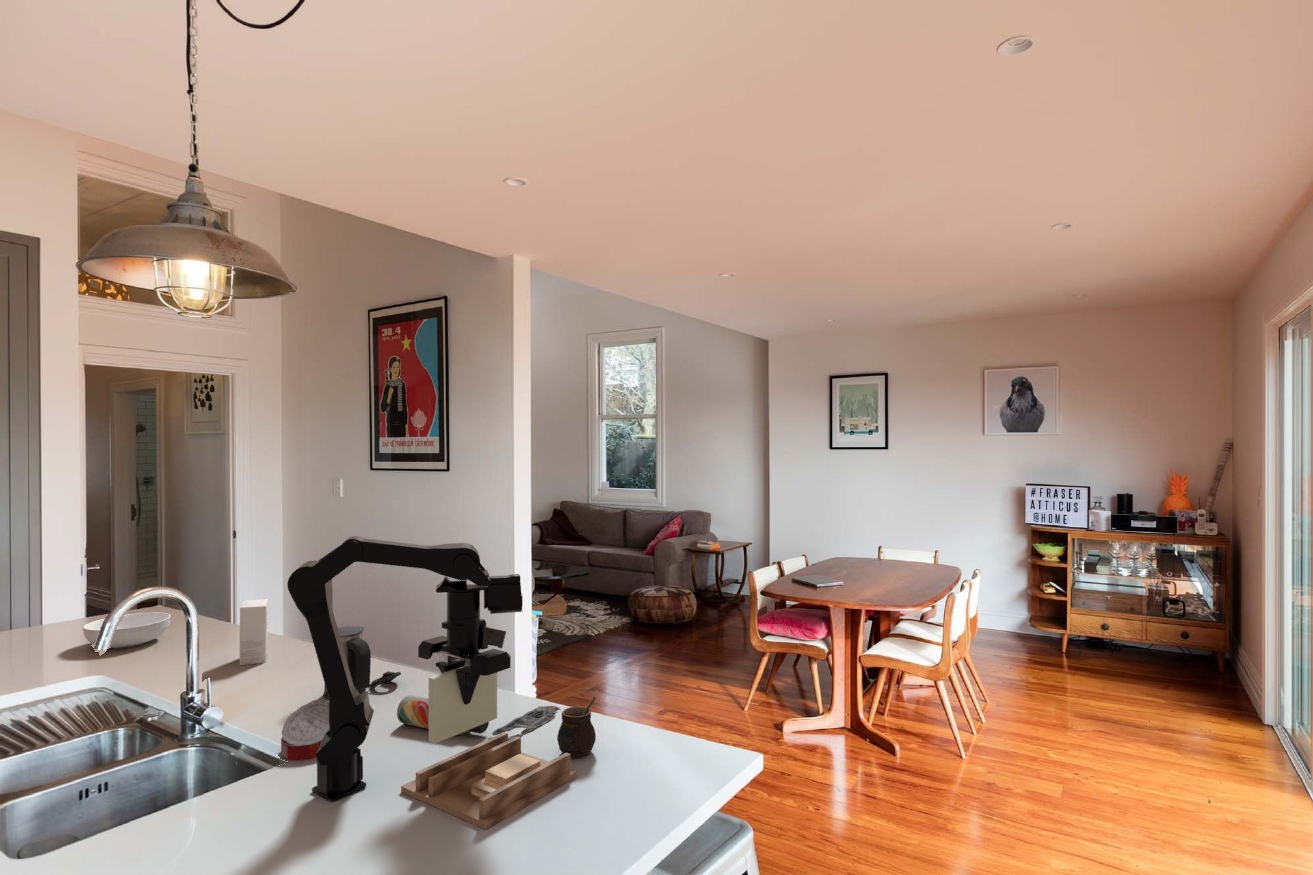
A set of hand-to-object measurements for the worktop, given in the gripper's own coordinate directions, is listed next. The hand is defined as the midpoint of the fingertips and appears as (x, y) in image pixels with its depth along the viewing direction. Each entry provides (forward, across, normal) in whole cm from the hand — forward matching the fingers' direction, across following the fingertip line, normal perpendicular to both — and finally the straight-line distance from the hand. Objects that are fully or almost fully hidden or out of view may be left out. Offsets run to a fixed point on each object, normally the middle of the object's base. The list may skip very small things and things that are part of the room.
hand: (463, 702), depth 131 cm
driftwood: (+14, +7, -22) cm, 27 cm away
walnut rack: (+13, -7, 0) cm, 14 cm away
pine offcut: (+12, -11, 0) cm, 16 cm away
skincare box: (+13, +99, -11) cm, 101 cm away
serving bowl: (+14, +146, +2) cm, 147 cm away
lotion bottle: (+10, +29, -8) cm, 32 cm away
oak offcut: (+10, -11, -1) cm, 15 cm away
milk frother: (+13, +54, -15) cm, 58 cm away
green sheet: (+5, 0, 0) cm, 5 cm away
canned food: (+13, +33, +10) cm, 37 cm away
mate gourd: (+13, -11, -18) cm, 25 cm away
